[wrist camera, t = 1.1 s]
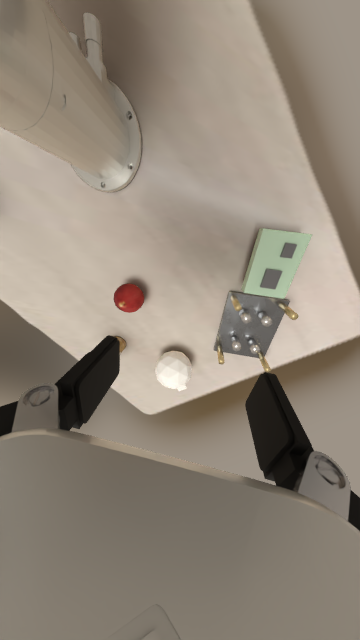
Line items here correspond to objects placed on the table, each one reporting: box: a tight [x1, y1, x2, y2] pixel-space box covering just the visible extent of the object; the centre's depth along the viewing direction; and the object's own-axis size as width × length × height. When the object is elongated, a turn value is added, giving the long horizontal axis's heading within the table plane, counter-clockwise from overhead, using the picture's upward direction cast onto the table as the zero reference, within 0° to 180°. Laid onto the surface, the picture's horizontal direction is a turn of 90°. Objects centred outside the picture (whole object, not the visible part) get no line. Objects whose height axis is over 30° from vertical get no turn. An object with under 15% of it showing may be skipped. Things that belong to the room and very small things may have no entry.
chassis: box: [214, 291, 298, 372], centre depth 35 cm, size 15×12×6 cm
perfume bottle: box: [155, 351, 192, 391], centre depth 41 cm, size 9×9×12 cm
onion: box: [114, 283, 144, 313], centre depth 34 cm, size 6×6×8 cm
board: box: [241, 228, 312, 299], centre depth 27 cm, size 10×7×3 cm
